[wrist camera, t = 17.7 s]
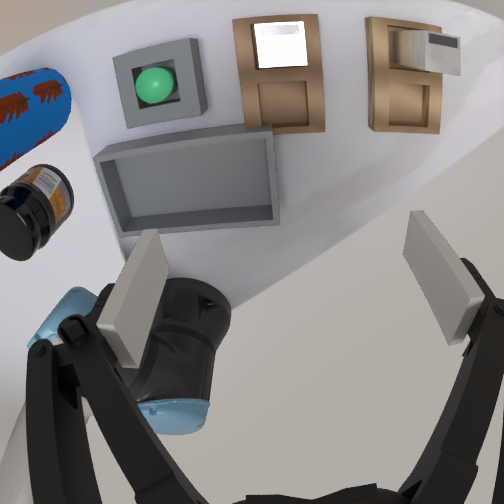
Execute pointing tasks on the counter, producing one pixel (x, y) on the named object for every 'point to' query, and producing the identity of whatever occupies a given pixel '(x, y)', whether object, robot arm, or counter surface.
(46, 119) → the thermos
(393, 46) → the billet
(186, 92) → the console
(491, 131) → the counter surface
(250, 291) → the counter surface
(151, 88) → the button
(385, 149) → the counter surface
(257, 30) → the block
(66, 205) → the supplement container
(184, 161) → the tote
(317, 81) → the pallets
